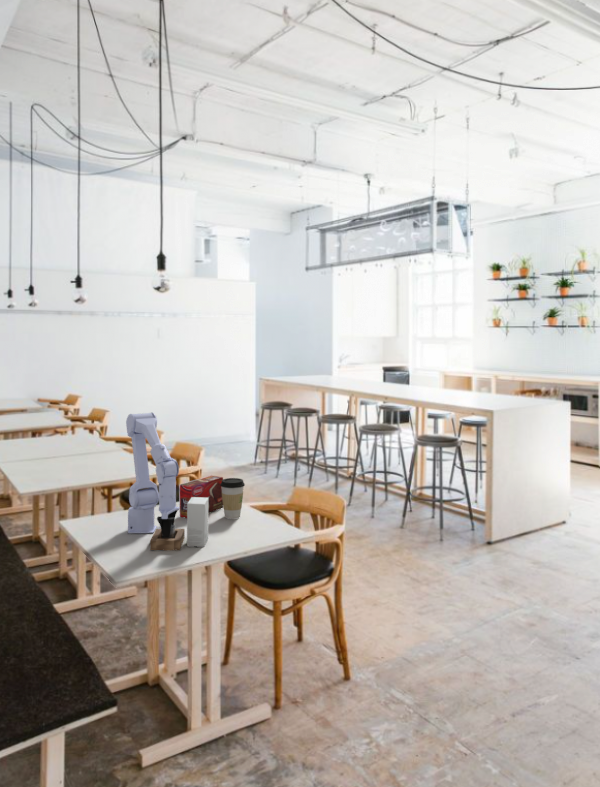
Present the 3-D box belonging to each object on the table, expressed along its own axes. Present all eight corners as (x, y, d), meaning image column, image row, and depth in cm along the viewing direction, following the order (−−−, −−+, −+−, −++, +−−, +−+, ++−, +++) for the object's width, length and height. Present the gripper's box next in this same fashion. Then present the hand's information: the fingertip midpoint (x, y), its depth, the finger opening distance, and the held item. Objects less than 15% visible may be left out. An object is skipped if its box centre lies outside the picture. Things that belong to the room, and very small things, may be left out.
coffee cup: (249, 516, 259) (249, 479, 257) (234, 521, 250) (234, 484, 249) (230, 512, 264) (230, 476, 263) (215, 517, 256) (215, 481, 254)
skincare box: (191, 539, 229) (191, 496, 228) (209, 539, 229) (209, 497, 227) (186, 546, 221) (186, 502, 219) (205, 547, 220) (205, 503, 219)
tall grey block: (162, 545, 221) (161, 528, 220) (163, 541, 225) (163, 524, 224) (173, 544, 221) (173, 528, 221) (175, 541, 225) (175, 524, 225)
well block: (150, 550, 216) (150, 540, 216) (156, 538, 229) (156, 528, 229) (179, 550, 217) (179, 540, 217) (184, 538, 230) (184, 528, 230)
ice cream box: (211, 505, 274) (211, 475, 272) (222, 508, 270) (223, 477, 269) (179, 517, 257) (179, 484, 255) (191, 519, 253) (191, 486, 252)
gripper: (176, 500, 215) (176, 539, 216) (181, 490, 229) (181, 526, 230) (155, 500, 214) (155, 540, 215) (161, 490, 229) (162, 527, 230)
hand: (167, 533), depth 223 cm, fingers open, 7 cm apart
